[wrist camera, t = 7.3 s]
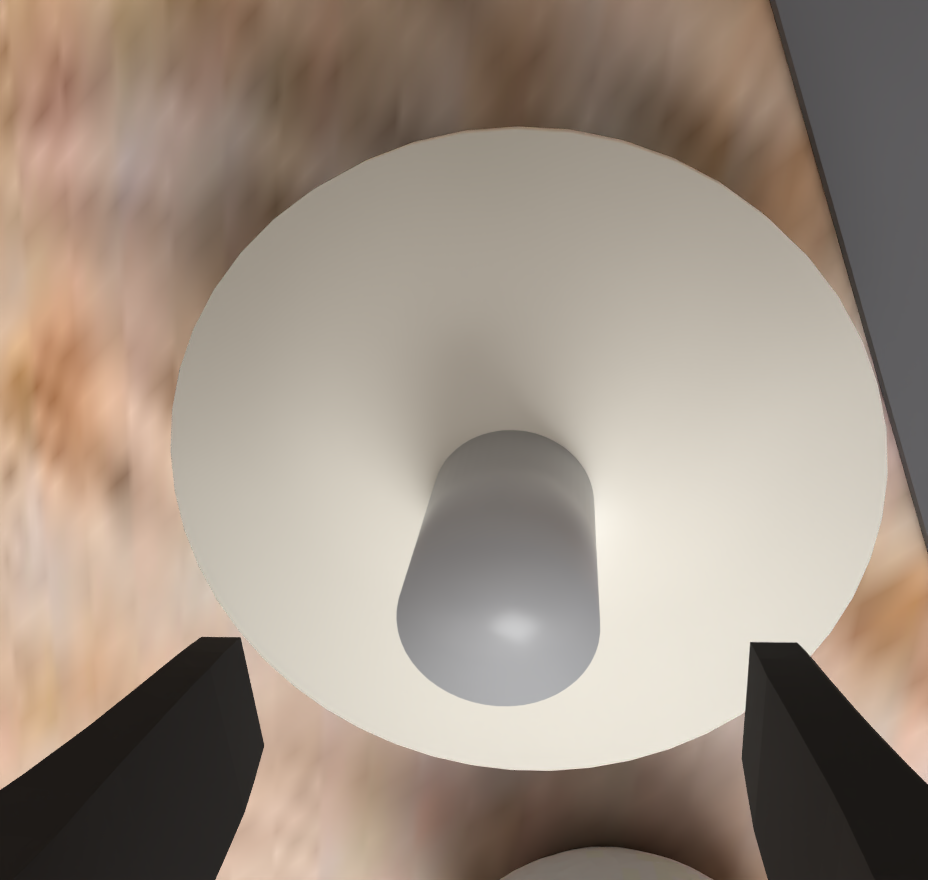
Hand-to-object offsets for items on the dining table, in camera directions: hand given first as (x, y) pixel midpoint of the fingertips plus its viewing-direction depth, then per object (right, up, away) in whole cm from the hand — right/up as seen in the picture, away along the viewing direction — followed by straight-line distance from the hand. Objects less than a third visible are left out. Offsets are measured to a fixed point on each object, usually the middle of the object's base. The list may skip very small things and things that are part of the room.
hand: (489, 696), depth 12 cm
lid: (+1, +3, +6) cm, 6 cm away
